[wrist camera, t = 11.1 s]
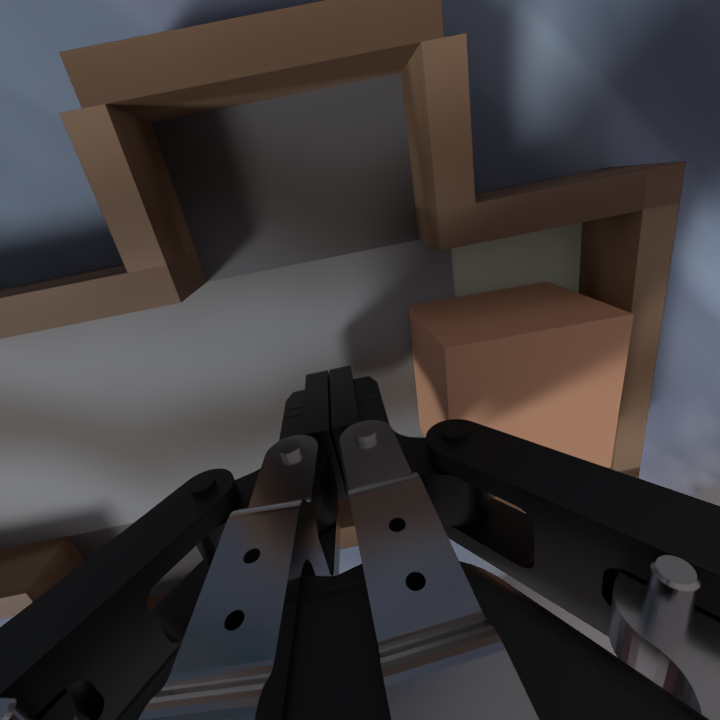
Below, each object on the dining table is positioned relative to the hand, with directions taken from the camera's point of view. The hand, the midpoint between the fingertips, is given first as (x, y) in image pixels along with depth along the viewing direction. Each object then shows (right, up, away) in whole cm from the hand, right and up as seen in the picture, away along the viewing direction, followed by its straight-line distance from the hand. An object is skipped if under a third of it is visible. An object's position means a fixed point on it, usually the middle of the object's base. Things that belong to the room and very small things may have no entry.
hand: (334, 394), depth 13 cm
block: (+5, +1, +2) cm, 6 cm away
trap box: (-6, -1, +2) cm, 7 cm away
